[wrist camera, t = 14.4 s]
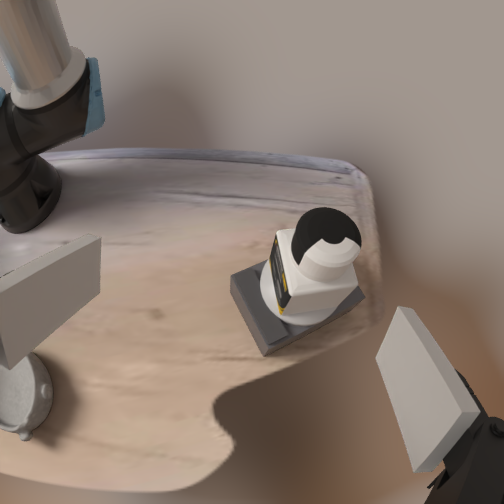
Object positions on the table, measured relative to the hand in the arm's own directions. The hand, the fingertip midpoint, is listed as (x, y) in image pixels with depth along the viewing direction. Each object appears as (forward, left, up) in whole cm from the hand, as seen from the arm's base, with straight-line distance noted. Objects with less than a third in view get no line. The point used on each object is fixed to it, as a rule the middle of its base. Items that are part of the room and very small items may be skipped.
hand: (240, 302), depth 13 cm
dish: (-8, -31, -30) cm, 44 cm away
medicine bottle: (-5, +12, -22) cm, 26 cm away
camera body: (-5, +12, -30) cm, 32 cm away
